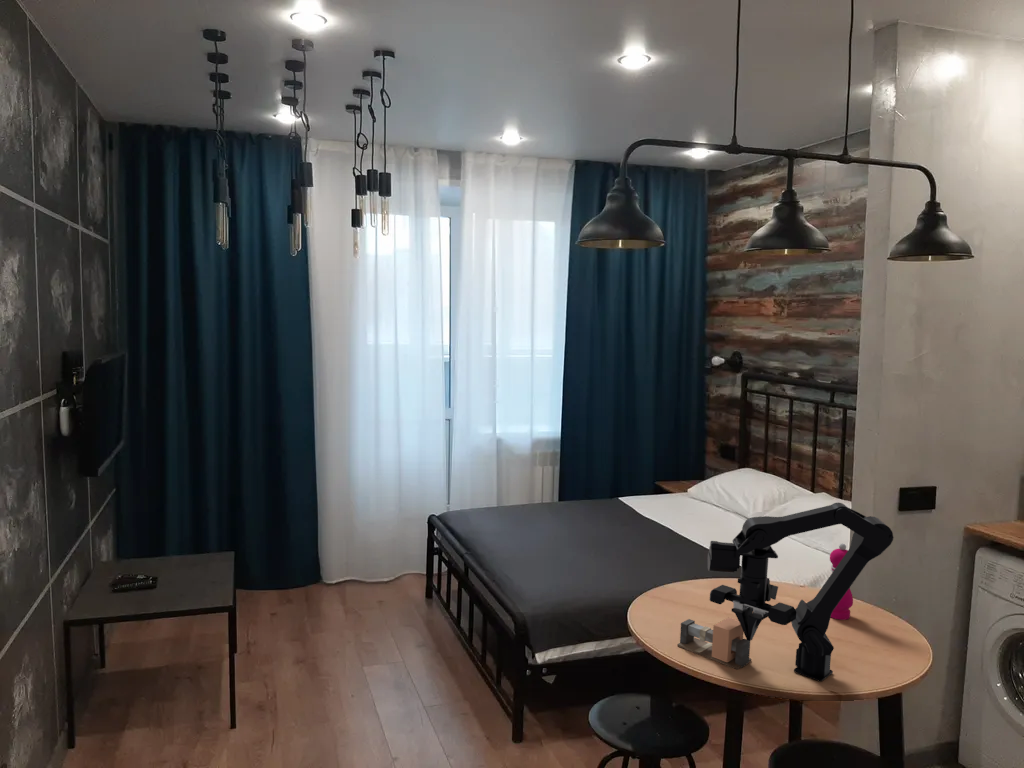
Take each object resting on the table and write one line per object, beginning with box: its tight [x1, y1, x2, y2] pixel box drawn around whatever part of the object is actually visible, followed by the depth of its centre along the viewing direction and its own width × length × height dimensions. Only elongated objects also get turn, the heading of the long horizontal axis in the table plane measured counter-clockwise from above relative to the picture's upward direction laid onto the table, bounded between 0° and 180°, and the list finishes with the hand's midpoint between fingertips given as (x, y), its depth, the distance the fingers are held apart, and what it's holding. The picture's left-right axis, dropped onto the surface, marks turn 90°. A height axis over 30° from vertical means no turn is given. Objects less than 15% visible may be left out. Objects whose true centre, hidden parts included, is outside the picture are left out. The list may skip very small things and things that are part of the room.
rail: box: [677, 618, 752, 670], centre depth 184 cm, size 16×6×5 cm, turn 45°
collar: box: [711, 616, 744, 662], centre depth 181 cm, size 4×7×8 cm, turn 135°
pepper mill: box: [829, 543, 854, 621], centre depth 208 cm, size 7×7×20 cm
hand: (749, 640), depth 177 cm, fingers closed
